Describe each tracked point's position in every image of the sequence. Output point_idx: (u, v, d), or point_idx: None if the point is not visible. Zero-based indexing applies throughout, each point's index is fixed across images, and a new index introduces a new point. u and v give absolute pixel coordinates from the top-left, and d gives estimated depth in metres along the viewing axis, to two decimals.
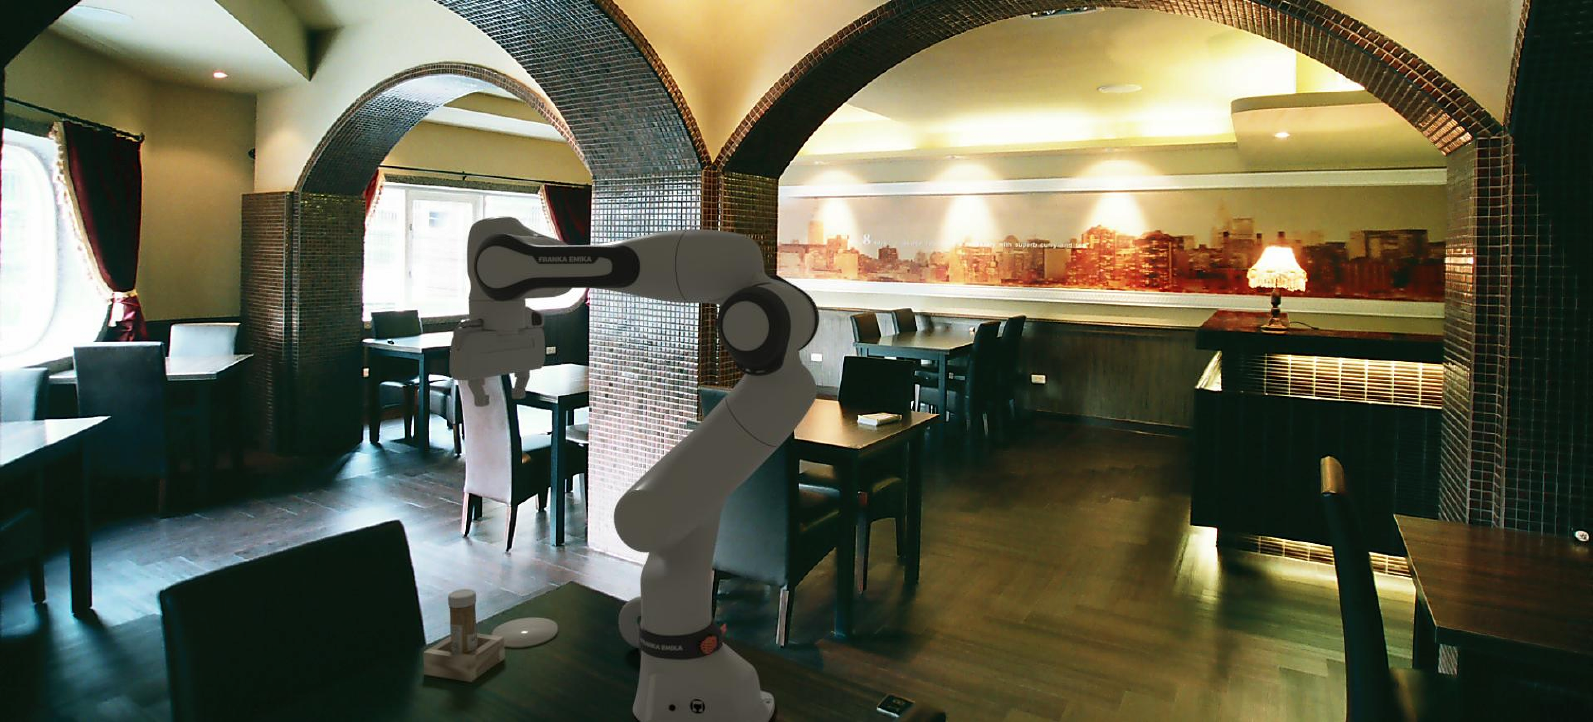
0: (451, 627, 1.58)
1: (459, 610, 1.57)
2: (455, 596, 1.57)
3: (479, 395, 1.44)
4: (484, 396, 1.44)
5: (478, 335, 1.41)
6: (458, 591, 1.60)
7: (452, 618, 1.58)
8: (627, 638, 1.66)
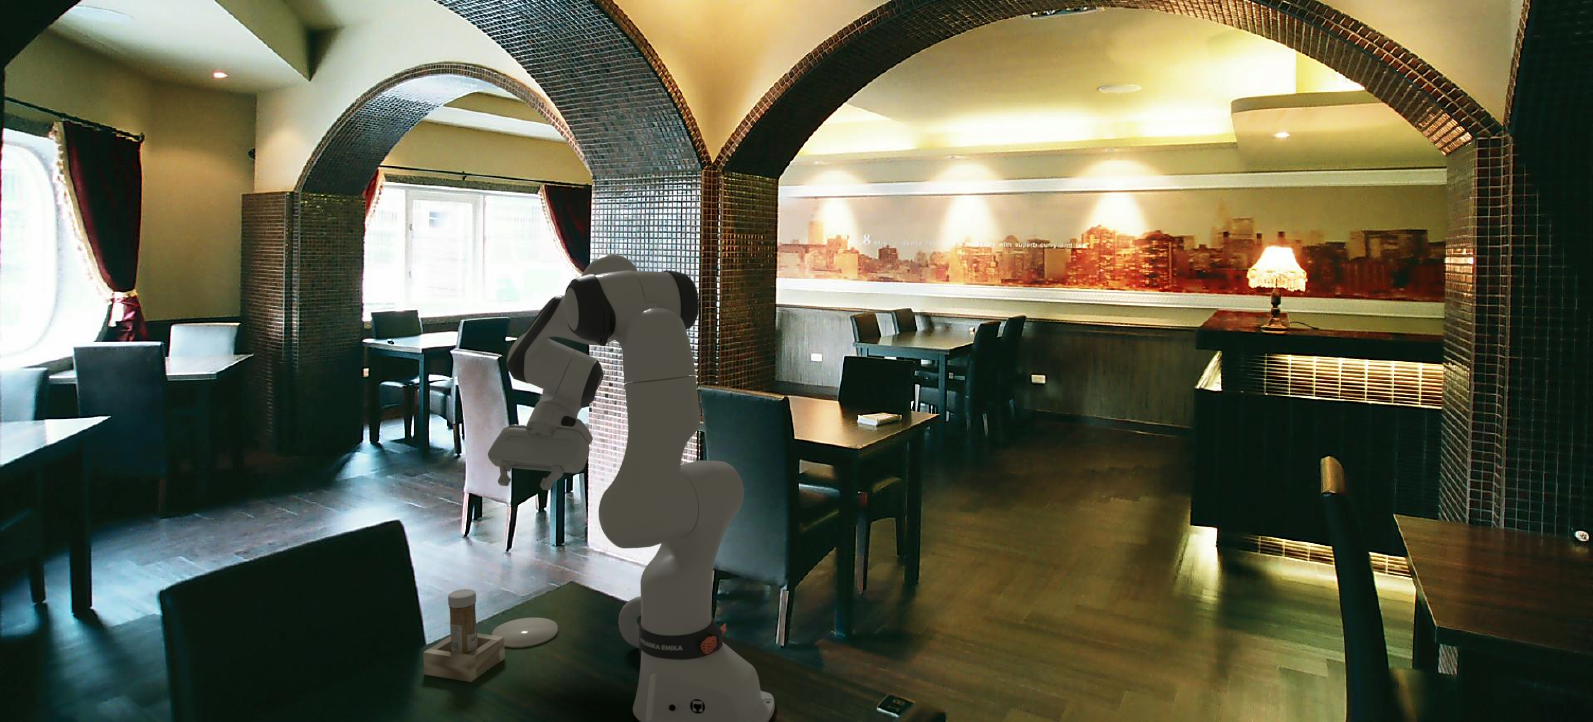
0: (451, 627, 1.58)
1: (459, 610, 1.57)
2: (455, 596, 1.57)
3: None
4: (501, 474, 1.77)
5: (510, 429, 1.83)
6: (458, 591, 1.60)
7: (452, 618, 1.58)
8: (627, 638, 1.66)
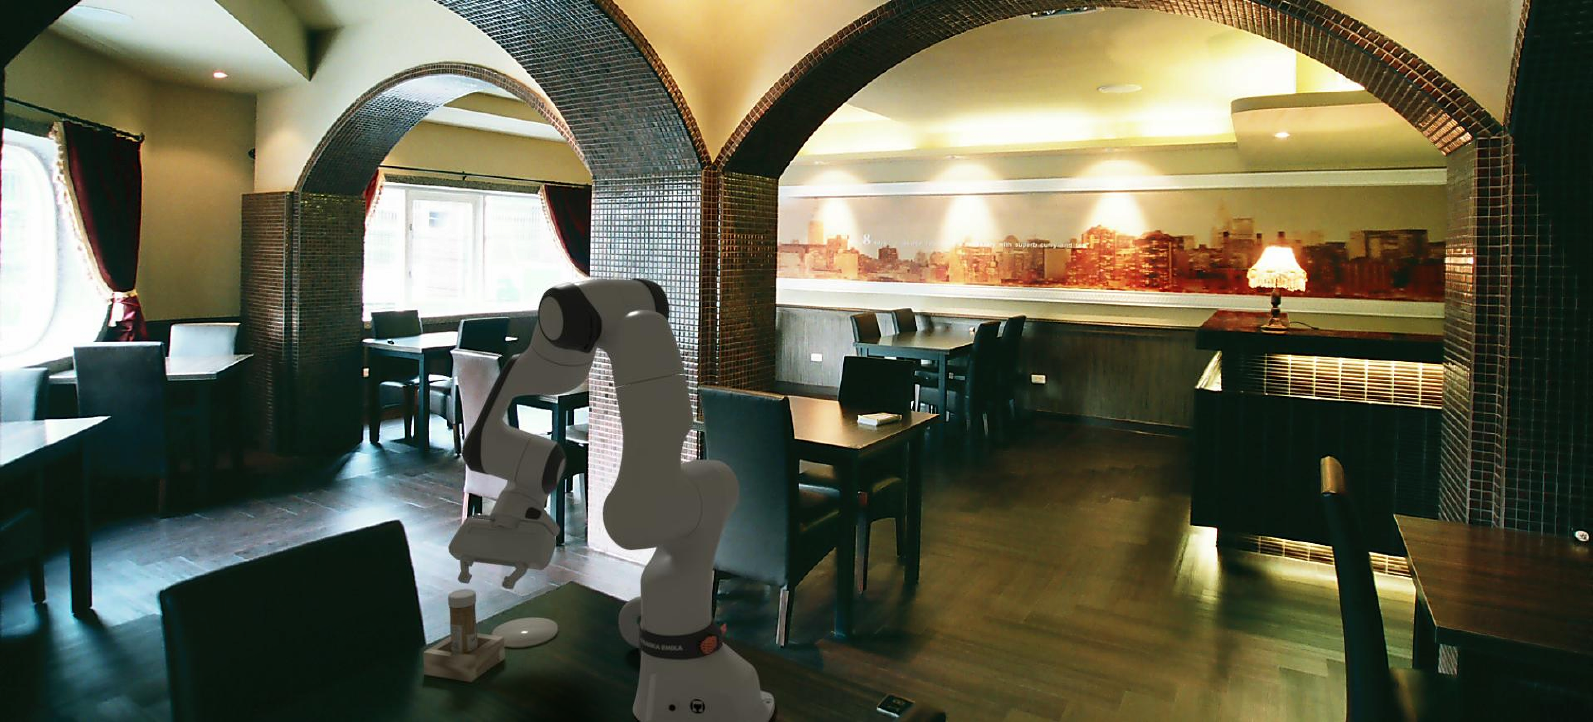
0: (451, 627, 1.58)
1: (459, 610, 1.57)
2: (455, 596, 1.57)
3: None
4: (462, 571, 1.67)
5: (473, 520, 1.72)
6: (458, 591, 1.60)
7: (452, 618, 1.58)
8: (627, 638, 1.66)
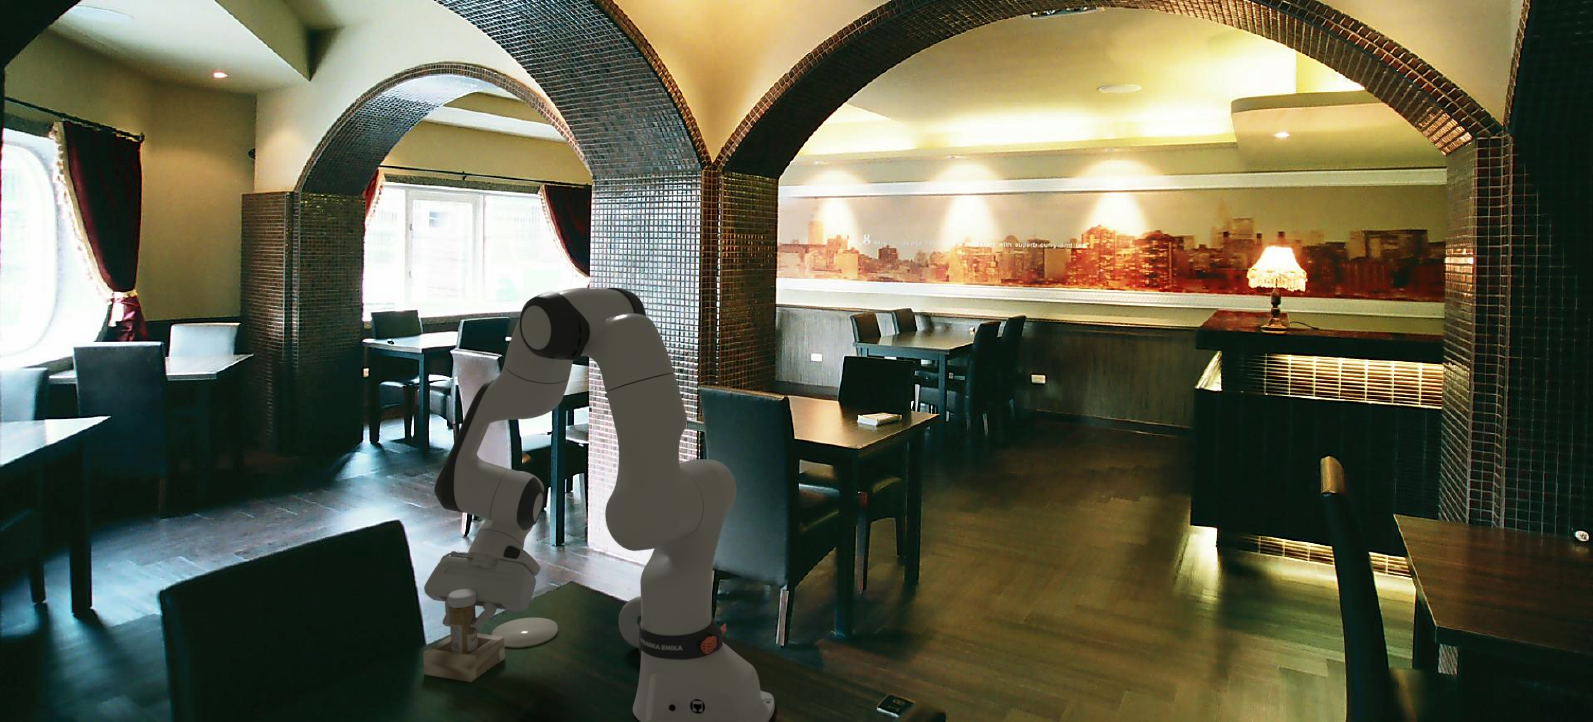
0: (451, 627, 1.58)
1: (459, 610, 1.57)
2: (455, 596, 1.57)
3: None
4: (446, 614, 1.60)
5: (450, 559, 1.66)
6: (458, 591, 1.60)
7: (452, 618, 1.58)
8: (627, 638, 1.66)
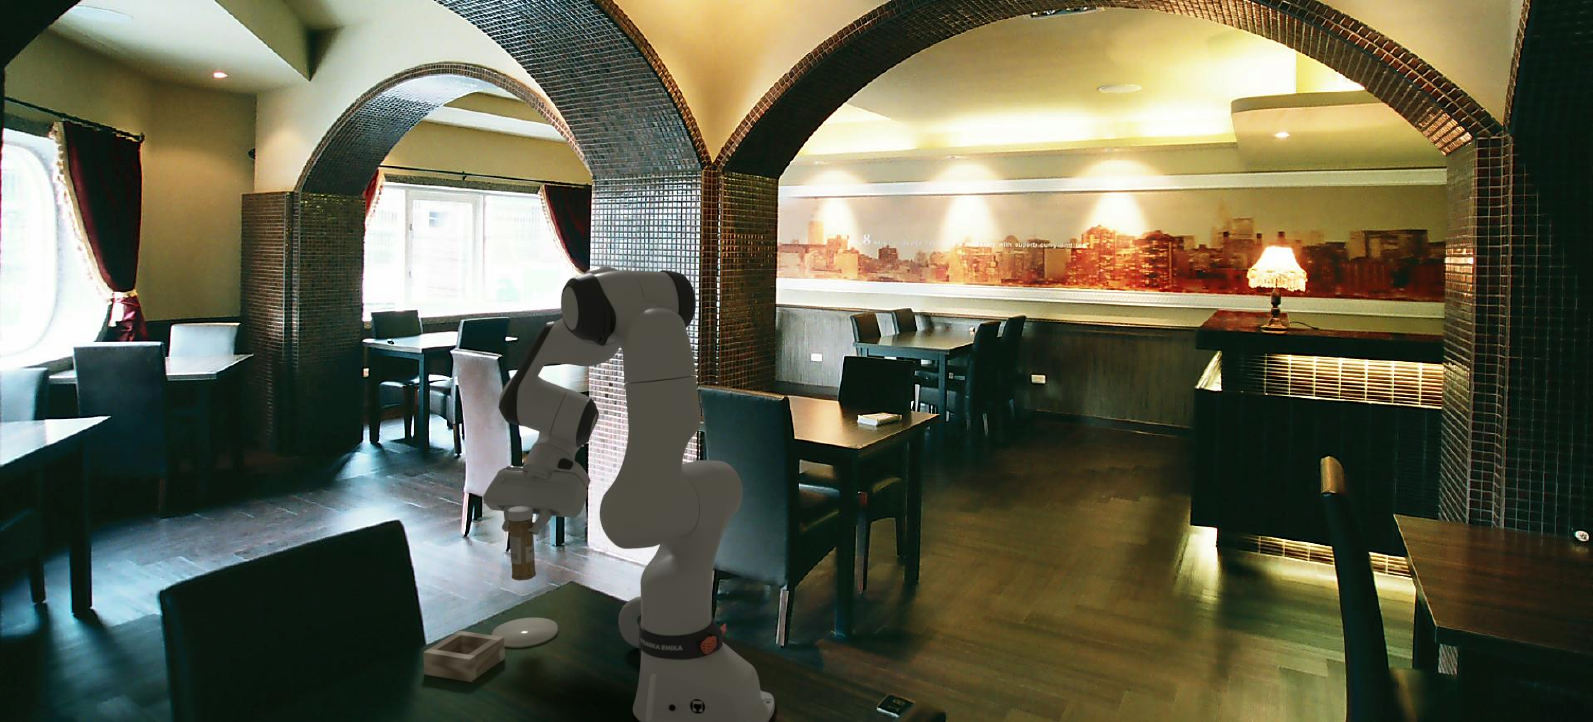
0: (511, 539, 1.70)
1: (518, 523, 1.69)
2: (514, 511, 1.69)
3: None
4: (505, 520, 1.72)
5: (506, 472, 1.78)
6: (516, 507, 1.72)
7: (511, 531, 1.70)
8: (627, 638, 1.66)
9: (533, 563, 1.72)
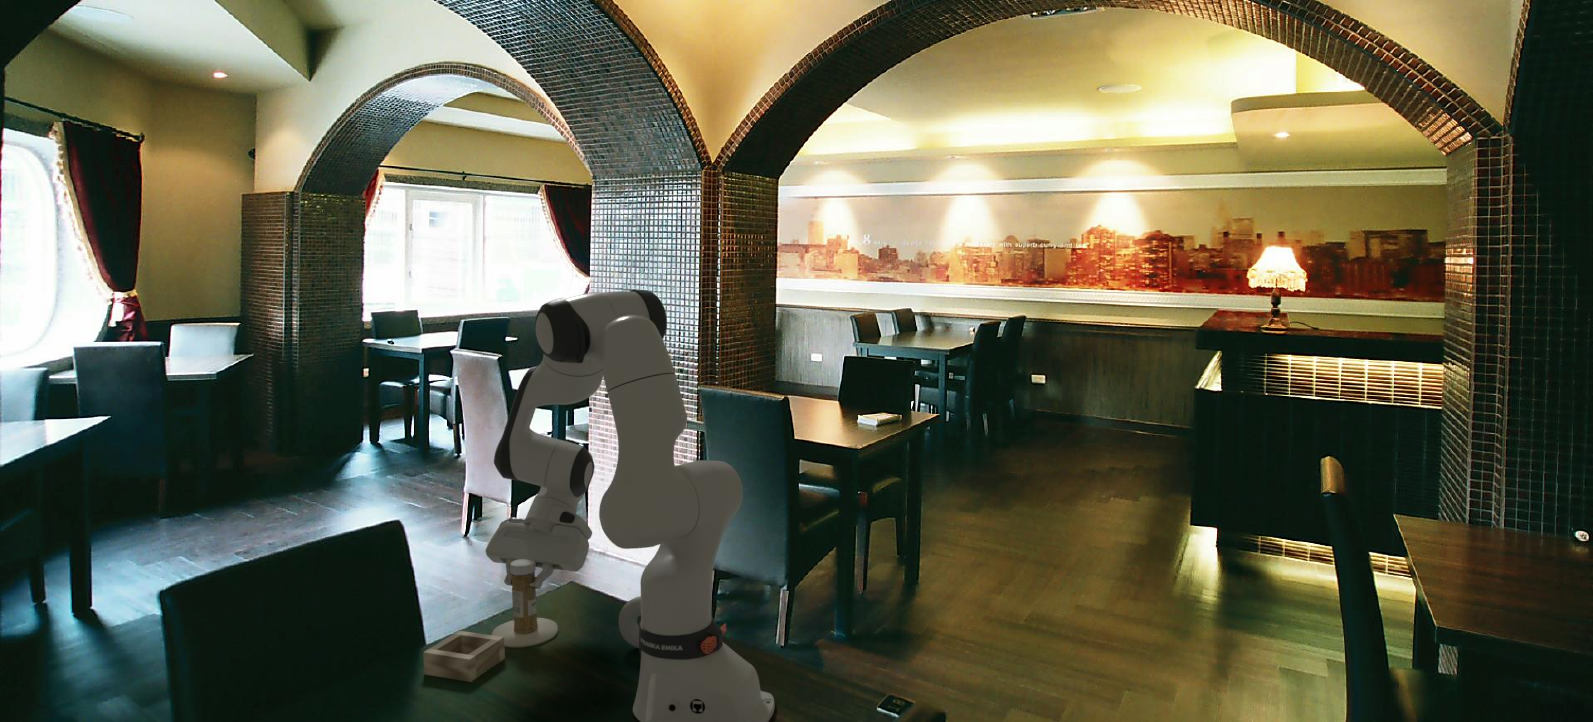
0: (513, 593, 1.72)
1: (520, 577, 1.70)
2: (516, 565, 1.71)
3: None
4: (508, 574, 1.73)
5: (509, 524, 1.80)
6: (519, 560, 1.73)
7: (514, 585, 1.71)
8: (627, 638, 1.66)
9: (535, 616, 1.73)
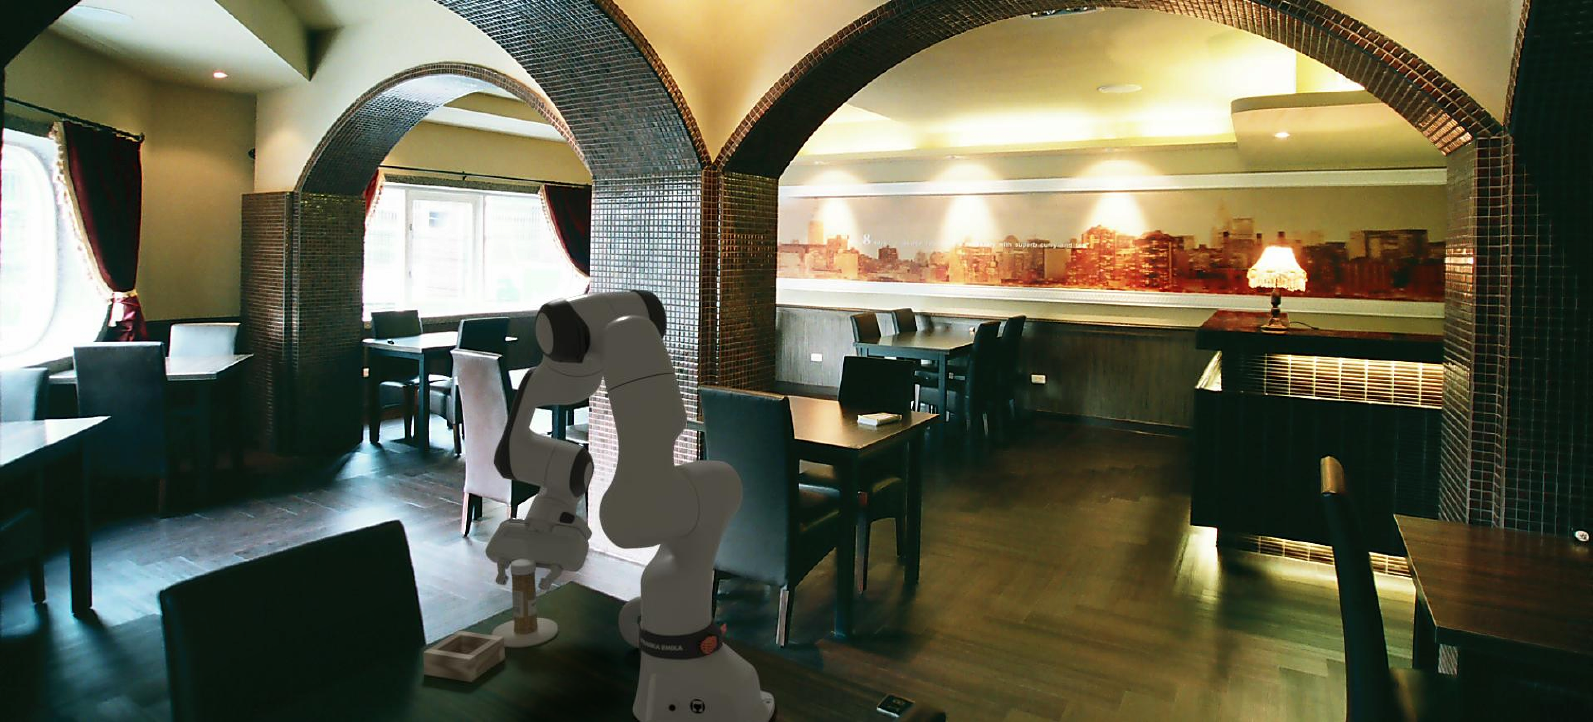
0: (513, 593, 1.72)
1: (521, 577, 1.70)
2: (517, 565, 1.71)
3: None
4: (499, 573, 1.74)
5: (508, 524, 1.80)
6: (519, 560, 1.73)
7: (514, 585, 1.71)
8: (627, 638, 1.66)
9: (535, 617, 1.73)
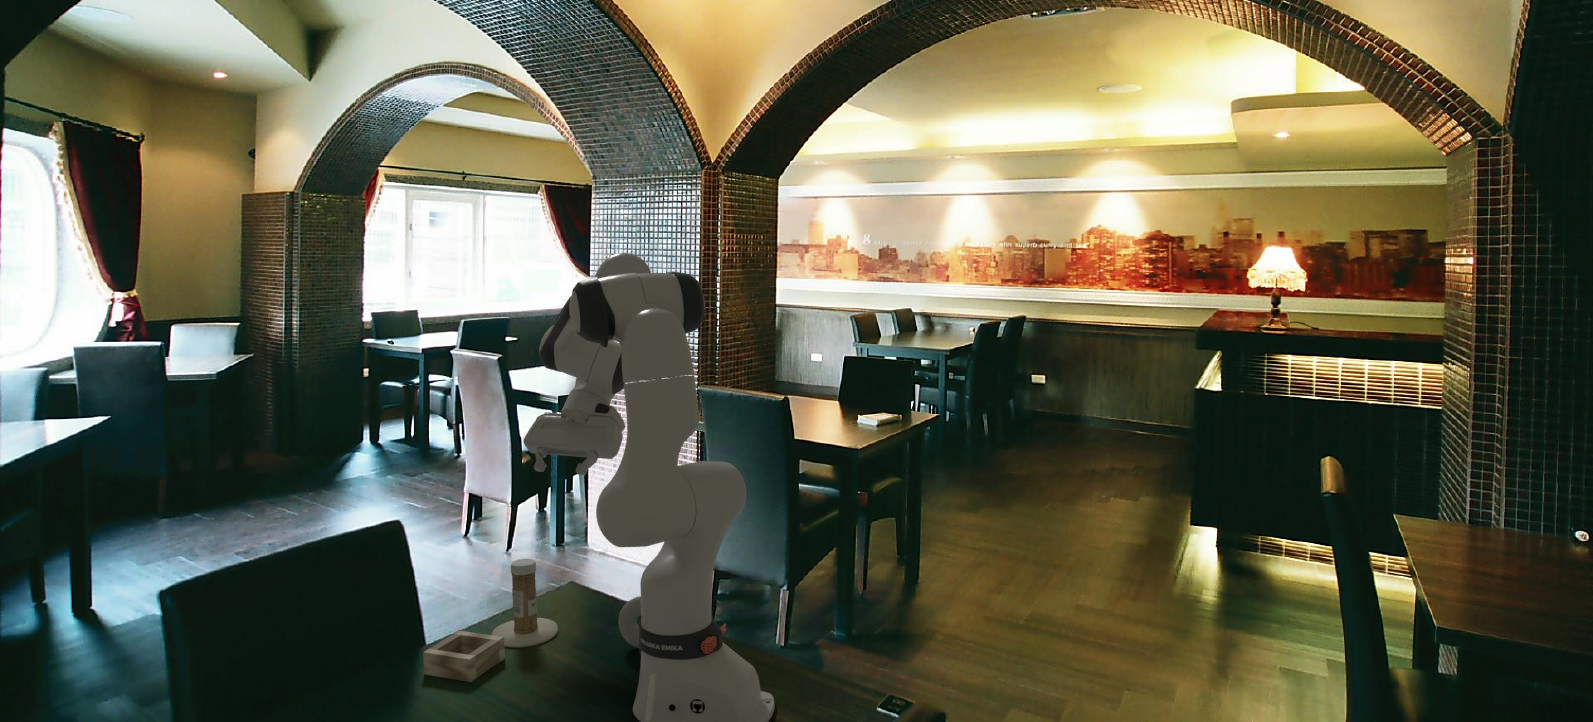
0: (513, 593, 1.71)
1: (521, 577, 1.70)
2: (517, 565, 1.71)
3: None
4: (537, 460, 1.82)
5: (545, 417, 1.87)
6: (519, 560, 1.73)
7: (514, 585, 1.71)
8: (627, 638, 1.66)
9: (535, 617, 1.73)
